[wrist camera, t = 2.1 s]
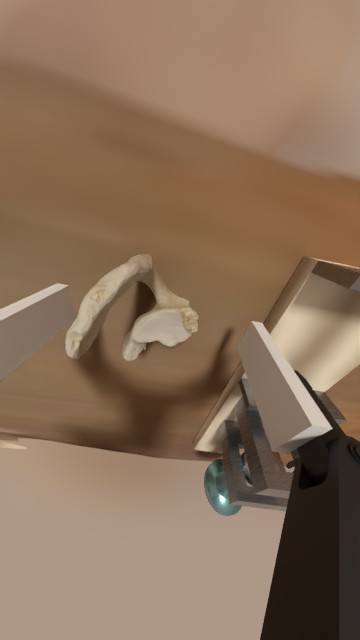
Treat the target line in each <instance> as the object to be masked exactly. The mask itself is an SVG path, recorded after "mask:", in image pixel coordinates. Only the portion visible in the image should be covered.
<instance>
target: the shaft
mask: <svg viewBox="0 0 360 640" xmlns="http://www.w3.org/2000/svg"><path fill="white" fill-rule="evenodd" d="M270 451H271V449H270ZM271 454H272V457H273V460H274V463H275V466H276V469H277V471H279V465H278V461H277V459H276V457H275V455H274V453H273V452H272V451H271ZM240 456H241V460H242V465H243V470H244V475H245V479H246V484H247V486H252V487H253V485H252V481H251V477H250V472H249V468H248V464H247V459H246V455H245V452H243V453H242V454H241V455H240ZM204 488H205V493H206V496H207V499H208V501H209V503H210V504H211V506H212V507H213V508H214V510H215V511H216V512H218V513H219V514H221V515H224V516H230V515H233V514H236V513H237V512H238V511H239V510H240V508H241V507H242V506H241V505H233V504H229V498H228V490H227V483H226V476H225V468H224V461H223V460H222V459H219V460H215V461H214V462H212V463H211V464H210V465H209V467H208V468H207V470H206V472H205V477H204Z"/></svg>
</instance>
